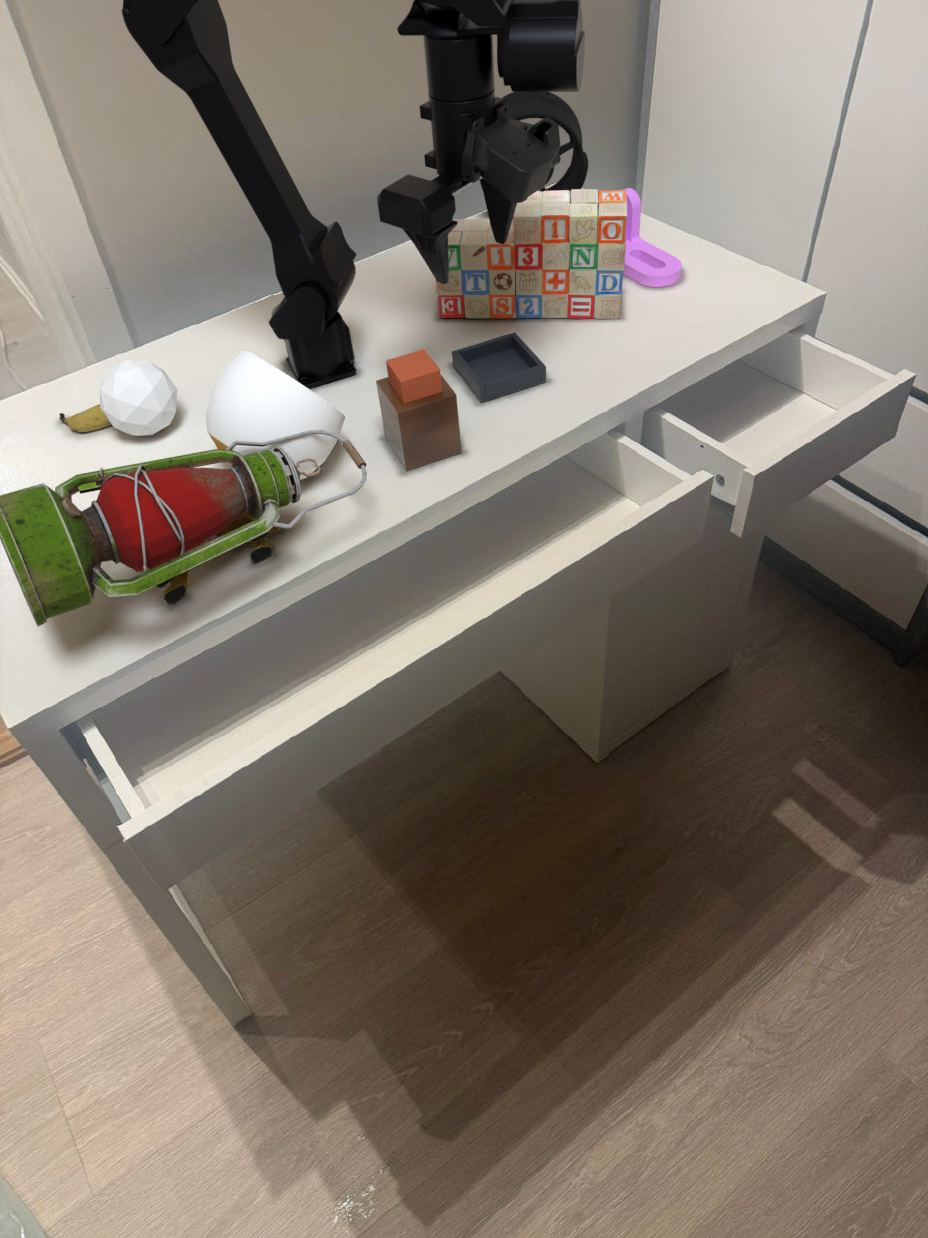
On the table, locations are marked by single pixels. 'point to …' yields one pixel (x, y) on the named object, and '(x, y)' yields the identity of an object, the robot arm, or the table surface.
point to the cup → (270, 412)
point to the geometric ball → (138, 397)
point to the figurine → (260, 542)
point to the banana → (87, 420)
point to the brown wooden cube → (420, 425)
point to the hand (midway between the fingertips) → (472, 262)
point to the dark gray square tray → (498, 367)
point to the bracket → (646, 252)
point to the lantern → (146, 521)
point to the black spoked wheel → (563, 115)
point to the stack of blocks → (541, 260)
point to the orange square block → (414, 376)
